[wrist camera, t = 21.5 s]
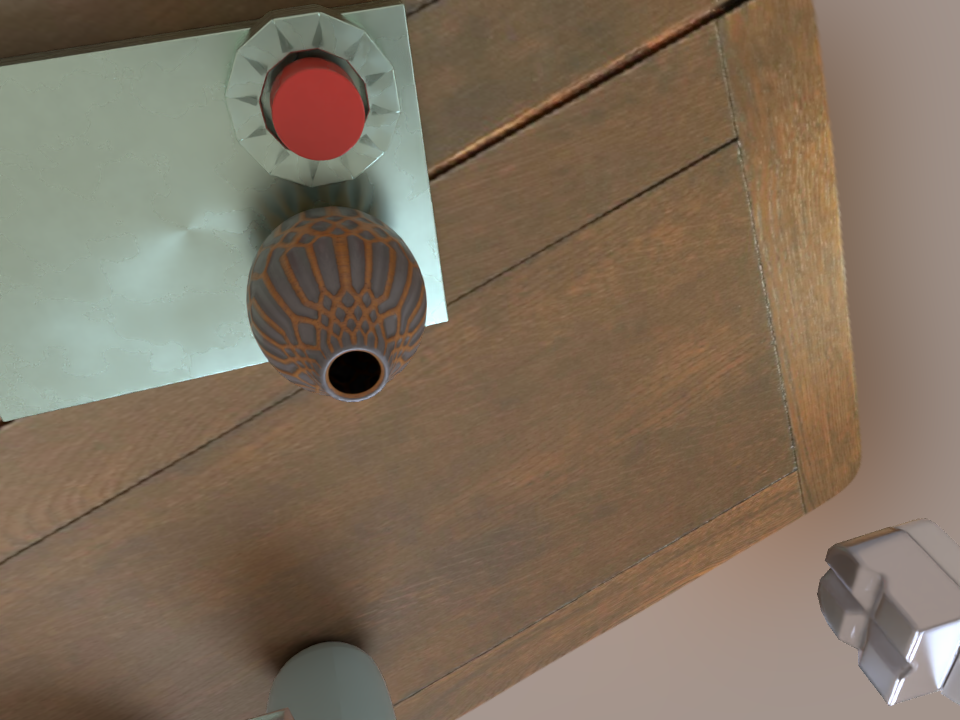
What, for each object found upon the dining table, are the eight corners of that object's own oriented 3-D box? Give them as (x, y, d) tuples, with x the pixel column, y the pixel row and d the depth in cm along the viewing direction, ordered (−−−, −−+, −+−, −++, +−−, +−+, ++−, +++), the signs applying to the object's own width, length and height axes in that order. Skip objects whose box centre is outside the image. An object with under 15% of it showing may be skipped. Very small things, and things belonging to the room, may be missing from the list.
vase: (257, 337, 34) (264, 467, 27) (232, 190, 30) (233, 297, 23) (409, 319, 35) (453, 437, 28) (405, 177, 31) (454, 274, 24)
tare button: (349, 49, 27) (356, 61, 26) (365, 137, 29) (372, 152, 27) (259, 64, 26) (260, 76, 25) (281, 152, 28) (284, 168, 27)
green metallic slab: (396, -16, 29) (411, -3, 26) (442, 307, 37) (457, 338, 35) (-187, 72, 25) (-230, 96, 23) (10, 403, 34) (-6, 446, 31)
